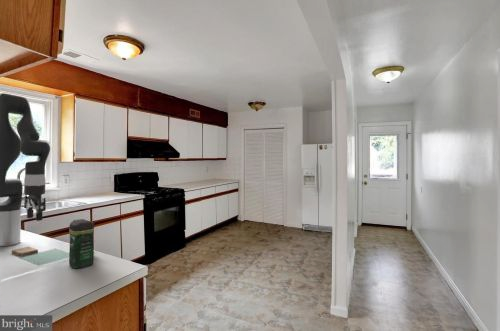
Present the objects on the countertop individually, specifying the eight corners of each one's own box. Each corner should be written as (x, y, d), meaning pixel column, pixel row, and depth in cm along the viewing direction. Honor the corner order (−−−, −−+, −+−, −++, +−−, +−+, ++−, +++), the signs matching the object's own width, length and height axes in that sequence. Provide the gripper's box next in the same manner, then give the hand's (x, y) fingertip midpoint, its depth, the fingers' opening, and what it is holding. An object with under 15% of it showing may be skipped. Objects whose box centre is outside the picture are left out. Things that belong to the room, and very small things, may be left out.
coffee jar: (96, 264, 109) (97, 220, 109) (74, 270, 103) (75, 223, 103) (87, 259, 115) (87, 216, 115) (66, 264, 109) (66, 219, 109)
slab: (21, 259, 115) (11, 255, 119) (37, 254, 120) (27, 251, 124) (21, 253, 115) (11, 250, 119) (37, 249, 120) (27, 246, 124)
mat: (18, 259, 114) (18, 257, 114) (55, 249, 126) (55, 248, 126) (38, 267, 106) (38, 265, 106) (75, 256, 118) (75, 254, 118)
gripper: (17, 183, 121) (17, 218, 121) (32, 185, 114) (32, 223, 114) (37, 182, 127) (36, 215, 128) (52, 184, 121) (51, 219, 121)
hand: (34, 219), depth 121 cm, fingers open, 8 cm apart
